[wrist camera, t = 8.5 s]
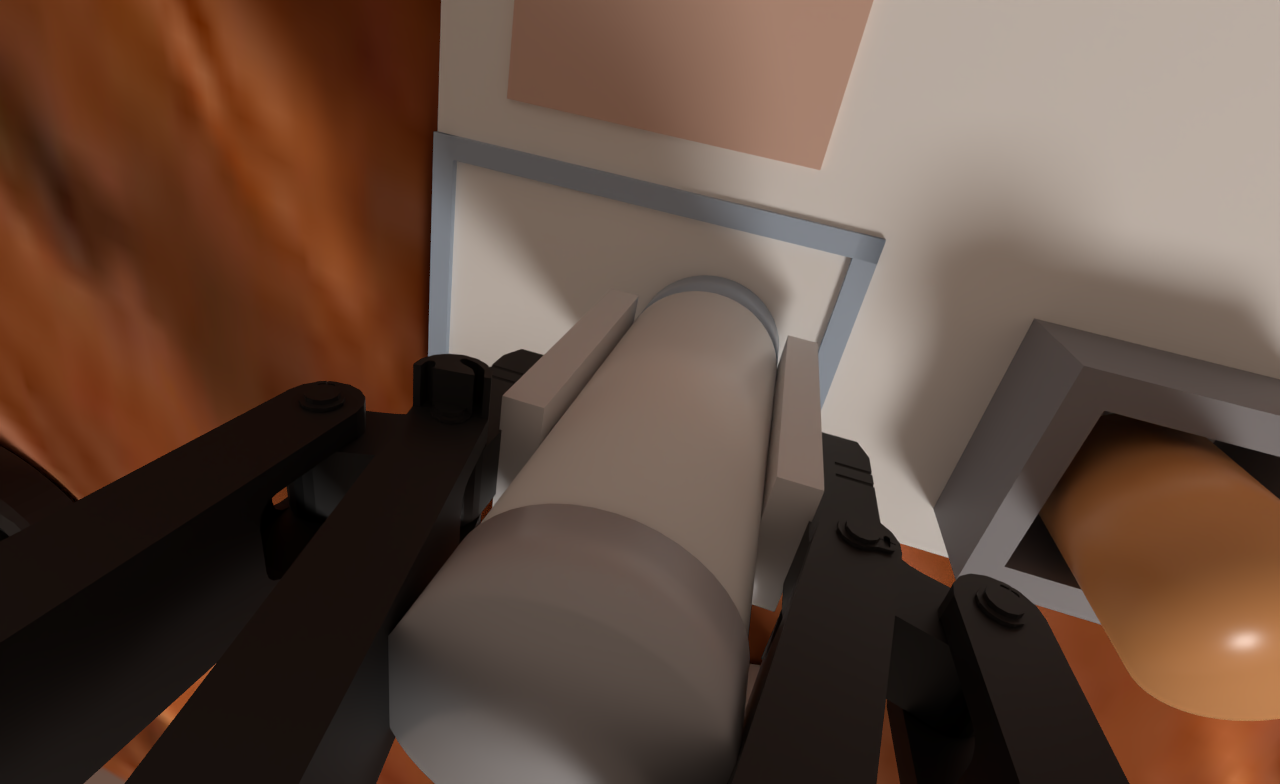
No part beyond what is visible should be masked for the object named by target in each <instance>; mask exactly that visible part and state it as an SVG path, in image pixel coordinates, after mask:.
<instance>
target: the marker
mask: <svg viewBox="0 0 1280 784" xmlns="http://www.w3.org/2000/svg"><path fill="white" fill-rule="evenodd" d="M778 355H779V336H778V331H777V327H776V324H775V321H774V319H773V317H772V315H771V313H770V311H769V310H768V308H767V307H766V305H765V304H764V303H763V302H762V300H761V299H760V298H759V297H758V296H757V295H756V294H754V293H753V292H752V291H751V290H749V289H748V288H746V287H745V286H743V285H741V284H739V283H737V282H735V281H733V280H730V279H727V278H723V277H718V276H708V275H701V276H692V277H687V278H684V279H681V280H678V281H676V282H674V283H672V284H670V285H668V286H666V287H665V288H664V289H662V290H661V291H660V292H658V293H657V294H656V295H655V296H654V297H653V298H652V300H651V301H650V302H649V303H648V305H647V306H646V307H645V309H644V310H643V311H642V313H641V314H640V315H639V316H638V318H637V319H636V320H635V322H634V323H633V324H632V326H631V327H630V328H629V330H628V331H627V332H626V333H625V335H624V336H623V337H622V339H621V340H620V341H619V343H618V344H617V345H616V347H615V348H614V349H613V350H612V352H611V353H610V354H609V356H608V357H607V358H606V360H605V361H604V362H603V364H602V365H601V366H600V367H599V369H598V370H597V371H596V373H595V374H594V375H593V377H592V378H591V379H590V381H589V382H588V383H587V384H586V386H585V387H584V388H583V390H582V391H581V392H580V394H579V395H578V396H577V398H576V399H575V400H574V401H573V403H572V404H571V405H570V407H569V408H568V409H567V411H566V412H565V413H564V415H563V416H562V417H561V418H560V420H559V421H558V422H557V424H556V425H555V426H554V428H553V429H552V430H551V432H550V433H549V434H548V435H547V437H546V438H545V439H544V441H543V442H542V443H541V445H540V446H539V447H538V449H537V450H536V451H535V452H534V454H533V455H532V456H531V458H530V459H529V460H528V462H527V463H526V464H525V466H524V467H523V468H522V470H521V471H520V472H519V473H518V475H517V476H516V477H515V479H514V480H513V481H512V483H511V484H510V485H509V487H508V488H507V489H506V490H505V492H504V493H503V494H502V496H501V497H500V498H499V500H498V501H497V502H496V504H495V505H494V506H493V507H492V509H491V510H490V511H489V513H488V514H487V515H486V517H485V518H484V519H483V521H482V522H481V523H480V524H479V525H478V526H477V527H476V528H475V529H473V530H472V531H471V532H470V533H469V534H468V535H467V536H466V537H465V538H464V539H463V541H462V542H461V543H460V544H459V545H458V547H457V548H456V549H455V551H454V552H453V553H452V554H451V556H450V557H449V558H448V560H447V561H446V562H445V563H444V565H443V566H442V567H441V569H440V570H439V571H438V573H437V574H436V575H435V576H434V578H433V579H432V580H431V582H430V583H429V584H428V585H427V587H426V588H425V589H424V591H423V592H422V593H421V594H420V596H419V597H418V598H417V600H416V601H415V602H414V603H413V605H412V606H411V607H410V609H409V610H408V611H407V612H406V614H405V615H404V616H403V618H402V619H401V620H400V622H399V623H398V624H397V625H396V627H395V628H394V629H393V631H392V632H391V633H390V634H389V636H388V656H389V716H390V729H391V730H392V732H393V734H394V735H395V737H396V739H397V740H398V742H399V744H400V745H401V746H402V748H403V749H404V750H405V752H406V753H407V754H408V756H409V757H410V758H411V759H412V761H413V762H414V763H415V764H416V765H417V766H418V767H419V768H420V770H421V771H422V772H423V773H424V774H425V775H426V776H427V777H428V778H430V779H431V780H432V781H433V782H434V783H435V784H727V782H728V780H729V778H730V776H731V773H732V771H733V769H734V767H735V764H736V762H737V758H738V754H739V750H740V746H741V743H742V734H743V724H744V714H745V704H746V694H747V684H748V674H749V664H750V652H749V641H748V635H749V625H750V616H751V607H752V597H753V588H754V579H755V569H756V560H757V551H758V541H759V532H760V522H761V513H762V504H763V494H764V485H765V476H766V467H767V457H768V448H769V439H770V429H771V420H772V411H773V401H774V392H775V383H776V373H777V364H778Z"/></svg>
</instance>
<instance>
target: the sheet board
mask: <svg viewBox="0 0 1280 784" xmlns="http://www.w3.org/2000/svg"><path fill="white" fill-rule="evenodd" d="M701 275H708V276H718V277H723V278H727V279H730V280H733V281H735V282H737V283H739V284H741V285H743V286H745V287H746V288H748V289H749V290H751V291H752V292H753V293H754V294H756V295H757V296H758V297H759V298H760V299H761V300H762V302H763V303H764V304H765V305H766V307H767V308H768V310H769V311H770V313H771V315H772V317H773V319H774V321H775V324H776V327H777V331H778V336H779V355H778V364H779V361H780V358H781V355H782V352H783V349H784V346H785V343H786V340H787V337H788V335H789V336H793V337H797V338H801V339H804V340H808V341H812V342H816V343H818V361H819V383H820V405H821V426H822V432H824V433H827V434H831V435H834V436H838V437H841V438H845V439H848V440H852V441H855V442H858V444H859V445H860V446H861V448H862V449H863V450H864V451H865V453H866V454H867V455H868V457H869V459H870V465H871V471H872V473H871V475H872V476H873V482H874V485H873V487H874V488H875V493H876V499H877V505H878V511H879V516H880V522H881V524H882V525H884V526H885V527H886V528H887V529H889V530H890V531H891V532H892V533H893V535H894V536H895V537H896V539H897V540H898V541H899V543H901V544H905V545H908V546H911V547H915V548H918V549H921V550H925V551H928V552H931V553H935V554H938V555H941V556H945V557H948V558H949V560H950V563H951V566H952V569H953V573H954V576H955V579H957V578H958V577H959V576H961V575H966V574H971V573H972V574H978V575H985V576H988V577H991V578H994V579H996V580H999V581H1001V582H1004V583H1006V584H1008V585H1010V586H1011V587H1012V588H1015V589H1016V590H1018V591H1019V592H1021V593H1022V594H1023V595H1024V596H1025V597H1026V598H1027V599H1029V600H1030V601H1031V602H1032V603H1033V604H1035V605H1039V606H1042V607H1045V608H1048V609H1052V610H1055V611H1058V612H1062V613H1065V614H1068V615H1071V616H1075V617H1078V618H1081V619H1085V620H1088V621H1091V622H1094V623H1098V624H1101V623H1100V621H1099V620H1098V618H1097V616H1096V614H1095V612H1094V611H1093V609H1092V607H1091V605H1090V604H1089V602H1088V600H1087V598H1086V597H1085V595H1084V593H1083V591H1082V590H1081V588H1080V586H1079V584H1078V582H1077V581H1076V579H1075V577H1074V575H1073V574H1072V572H1071V570H1070V568H1069V567H1068V565H1067V563H1066V561H1065V559H1064V558H1063V556H1062V554H1061V552H1060V551H1059V549H1058V547H1057V545H1056V544H1055V542H1054V540H1053V538H1052V537H1051V535H1050V533H1049V531H1048V529H1047V528H1046V526H1045V524H1044V522H1043V521H1042V519H1041V517H1040V515H1039V514H1038V513H1039V512H1040V510H1041V509H1042V507H1043V505H1044V504H1045V502H1046V501H1047V499H1048V498H1049V496H1050V494H1051V493H1052V491H1053V490H1054V488H1055V487H1056V485H1057V484H1058V482H1059V480H1060V479H1061V477H1062V476H1063V474H1064V473H1065V471H1066V469H1067V468H1068V466H1069V465H1070V463H1071V462H1072V460H1073V459H1074V457H1075V455H1076V454H1077V452H1078V451H1079V449H1080V448H1081V446H1082V444H1083V443H1084V441H1085V440H1086V438H1087V437H1088V435H1089V434H1090V432H1091V430H1092V429H1093V427H1094V426H1095V424H1096V423H1097V421H1098V419H1099V418H1100V416H1103V415H1107V414H1112V413H1115V414H1119V415H1123V416H1127V417H1130V418H1134V419H1138V420H1142V421H1146V422H1149V423H1153V424H1157V425H1161V426H1165V427H1168V428H1172V429H1176V430H1180V431H1184V432H1187V433H1191V434H1195V435H1199V436H1203V437H1206V438H1207V439H1209V440H1210V441H1211V442H1212V443H1213V444H1214V445H1216V446H1217V447H1218V448H1219V449H1220V450H1222V451H1223V452H1224V453H1225V454H1226V455H1228V456H1229V457H1230V458H1231V459H1232V460H1233V461H1235V462H1236V463H1237V464H1238V465H1239V466H1241V467H1242V468H1243V469H1244V470H1245V471H1247V472H1248V473H1249V474H1250V475H1251V476H1252V477H1254V478H1255V479H1256V480H1257V481H1258V482H1260V483H1261V484H1262V485H1263V486H1264V487H1265V488H1267V489H1268V490H1269V491H1270V492H1271V493H1273V494H1274V495H1275V496H1276V497H1277V498H1279V499H1280V0H441V25H440V62H439V98H438V131H436V132H434V137H433V177H432V218H431V258H430V299H429V339H428V356H432V355H437V354H459V355H466V356H469V357H473V358H476V359H479V360H480V361H482V362H484V363H486V364H487V365H488V366H489V367H492V364H493V363H495V362H496V361H497V360H498V359H499V358H500V357H502V356H503V355H505V354H508V353H511V352H514V351H517V350H520V349H524V350H528V351H531V352H535V353H538V354H542V355H544V354H545V353H546V352H547V351H548V350H549V349H550V348H551V347H552V346H553V345H554V344H555V343H556V342H558V341H559V340H560V339H561V338H562V337H563V336H564V335H565V334H566V333H567V332H568V331H569V330H570V329H571V328H572V327H573V326H574V325H575V324H576V323H577V322H578V321H579V320H580V319H581V318H582V317H583V316H584V315H585V314H586V313H587V312H588V311H589V310H590V309H591V308H592V307H593V306H594V305H595V304H596V303H597V302H598V301H599V300H600V299H601V298H602V297H603V296H604V295H605V294H606V293H607V292H608V291H609V290H610V289H615V290H619V291H623V292H627V293H630V294H634V295H638V296H639V298H638V303H637V308H636V313H635V318H634V322H635V320H636V319H637V318H638V316H639V315H640V314H641V313H642V311H643V310H644V309H645V307H646V306H647V305H648V303H649V302H650V301H651V300H652V298H653V297H654V296H655V295H656V294H657V293H658V292H660V291H661V290H662V289H664V288H665V287H666V286H668V285H670V284H672V283H674V282H676V281H678V280H681V279H684V278H687V277H692V276H701ZM778 364H777V367H778Z"/></svg>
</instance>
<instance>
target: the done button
mask: <svg viewBox="0 0 1280 784" xmlns="http://www.w3.org/2000/svg"><path fill="white" fill-rule="evenodd" d="M1038 514H1039V515H1040V517H1041V519H1042V521H1043V522H1044V524H1045V526H1046V528H1047V529H1048V531H1049V533H1050V535H1051V537H1052V538H1053V540H1054V542H1055V544H1056V545H1057V547H1058V549H1059V551H1060V552H1061V554H1062V556H1063V558H1064V559H1065V561H1066V563H1067V565H1068V567H1069V568H1070V570H1071V572H1072V574H1073V575H1074V577H1075V579H1076V581H1077V582H1078V584H1079V586H1080V588H1081V590H1082V591H1083V593H1084V595H1085V597H1086V598H1087V600H1088V602H1089V604H1090V605H1091V607H1092V609H1093V611H1094V612H1095V614H1096V616H1097V618H1098V620H1099V621H1100V623H1101V625H1102V627H1103V628H1104V630H1105V632H1106V634H1107V635H1108V637H1109V639H1110V641H1111V643H1112V644H1113V646H1114V648H1115V650H1116V651H1117V653H1118V655H1119V657H1120V658H1121V660H1122V662H1123V664H1124V665H1125V667H1126V669H1127V671H1128V672H1129V674H1130V675H1131V677H1132V678H1133V679H1134V681H1135V682H1136V683H1137V684H1138V685H1139V686H1140V687H1141V688H1142V689H1144V690H1145V691H1146V692H1147V693H1148V694H1150V695H1151V696H1153V697H1155V698H1156V699H1158V700H1159V701H1161V702H1163V703H1165V704H1167V705H1169V706H1171V707H1174V708H1177V709H1179V710H1182V711H1185V712H1188V713H1192V714H1196V715H1199V716H1204V717H1210V718H1215V719H1224V720H1237V721H1258V720H1272V719H1280V499H1279V498H1277V497H1276V496H1275V495H1274V494H1273V493H1271V492H1270V491H1269V490H1268V489H1267V488H1265V487H1264V486H1263V485H1262V484H1261V483H1260V482H1258V481H1257V480H1256V479H1255V478H1254V477H1252V476H1251V475H1250V474H1249V473H1248V472H1247V471H1245V470H1244V469H1243V468H1242V467H1241V466H1239V465H1238V464H1237V463H1236V462H1235V461H1233V460H1232V459H1231V458H1230V457H1229V456H1228V455H1226V454H1225V453H1224V452H1223V451H1222V450H1220V449H1219V448H1218V447H1217V446H1216V445H1214V444H1213V443H1212V442H1211V441H1210V440H1209V439H1207V438H1206V437H1203V436H1199V435H1195V434H1191V433H1187V432H1184V431H1180V430H1176V429H1172V428H1168V427H1165V426H1161V425H1157V424H1153V423H1149V422H1146V421H1142V420H1138V419H1134V418H1130V417H1127V416H1123V415H1119V414H1115V413H1112V414H1107V415H1103V416H1100V418H1099V419H1098V421H1097V423H1096V424H1095V426H1094V427H1093V429H1092V430H1091V432H1090V434H1089V435H1088V437H1087V438H1086V440H1085V441H1084V443H1083V444H1082V446H1081V448H1080V449H1079V451H1078V452H1077V454H1076V455H1075V457H1074V459H1073V460H1072V462H1071V463H1070V465H1069V466H1068V468H1067V469H1066V471H1065V473H1064V474H1063V476H1062V477H1061V479H1060V480H1059V482H1058V484H1057V485H1056V487H1055V488H1054V490H1053V491H1052V493H1051V494H1050V496H1049V498H1048V499H1047V501H1046V502H1045V504H1044V505H1043V507H1042V509H1041V510H1040V512H1039V513H1038Z"/></svg>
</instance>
